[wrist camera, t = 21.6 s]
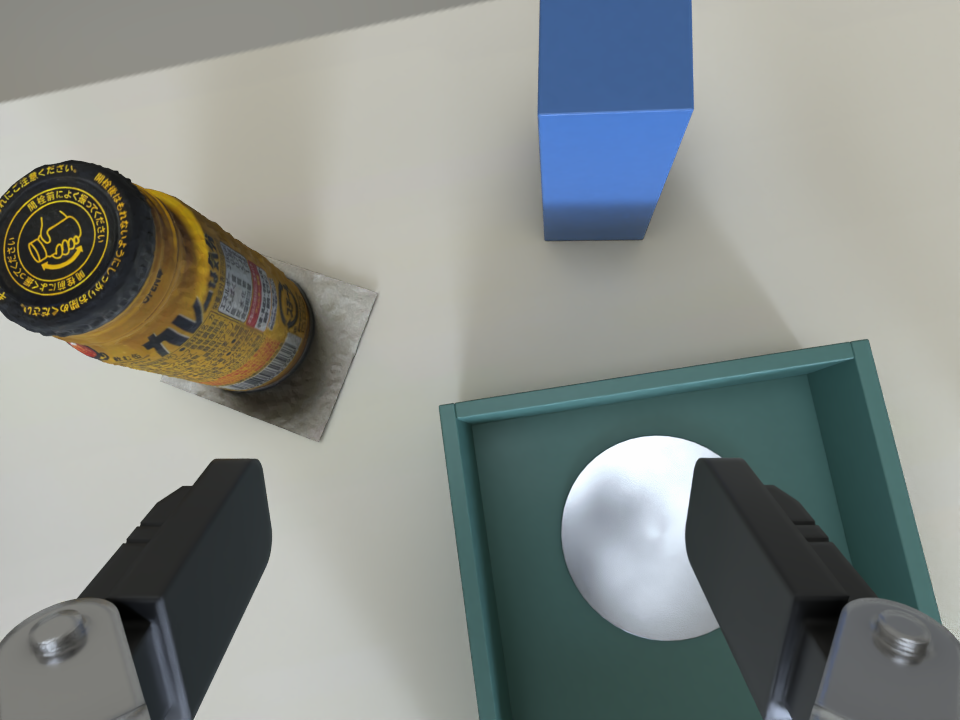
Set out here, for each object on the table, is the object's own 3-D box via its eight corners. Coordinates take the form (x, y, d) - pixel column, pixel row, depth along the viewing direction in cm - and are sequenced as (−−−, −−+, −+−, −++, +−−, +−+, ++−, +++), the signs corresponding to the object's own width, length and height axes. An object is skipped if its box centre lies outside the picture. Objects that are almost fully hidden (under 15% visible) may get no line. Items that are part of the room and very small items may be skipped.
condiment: (221, 241, 30) (8, 102, 18) (378, 293, 29) (255, 179, 17) (163, 382, 29) (-100, 329, 18) (321, 442, 28) (150, 430, 16)
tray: (520, 873, 24) (512, 972, 20) (458, 414, 27) (438, 405, 23) (927, 840, 23) (1024, 939, 18) (812, 360, 26) (869, 338, 21)
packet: (544, 241, 28) (537, 115, 18) (546, 119, 29) (541, -67, 19) (643, 239, 28) (694, 110, 17) (642, 116, 29) (690, -77, 18)
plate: (578, 649, 25) (578, 652, 24) (546, 450, 26) (545, 449, 26) (783, 626, 24) (787, 629, 24) (739, 421, 25) (742, 421, 25)
